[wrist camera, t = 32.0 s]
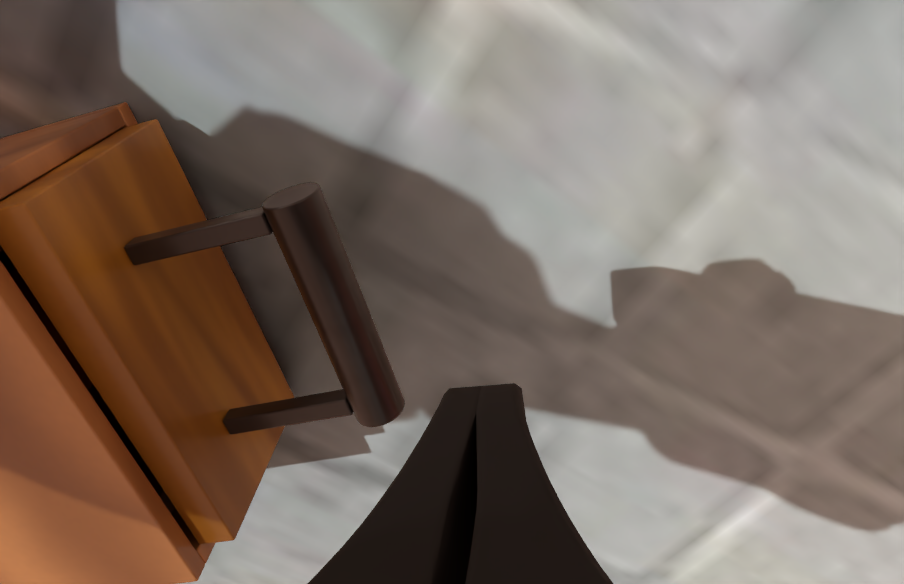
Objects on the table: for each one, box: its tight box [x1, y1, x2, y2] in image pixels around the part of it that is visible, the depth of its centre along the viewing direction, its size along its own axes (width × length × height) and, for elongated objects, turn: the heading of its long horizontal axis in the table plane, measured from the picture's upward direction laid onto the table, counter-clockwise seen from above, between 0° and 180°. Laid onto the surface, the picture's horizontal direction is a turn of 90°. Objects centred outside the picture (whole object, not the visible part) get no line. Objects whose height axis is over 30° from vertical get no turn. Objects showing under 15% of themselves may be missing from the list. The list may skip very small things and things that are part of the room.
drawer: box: [0, 119, 405, 544], centre depth 21 cm, size 19×11×6 cm, turn 106°
